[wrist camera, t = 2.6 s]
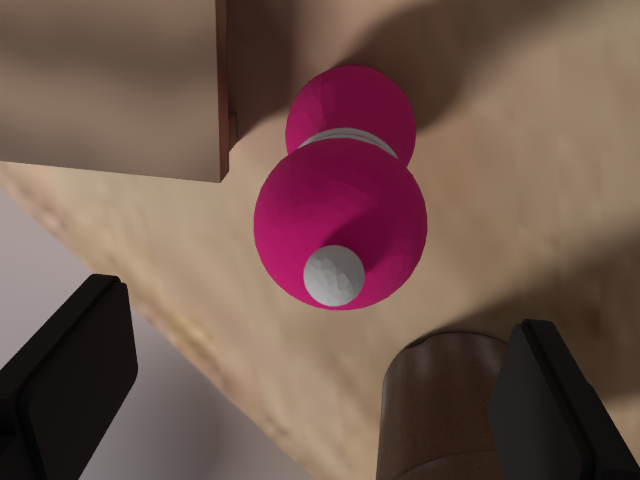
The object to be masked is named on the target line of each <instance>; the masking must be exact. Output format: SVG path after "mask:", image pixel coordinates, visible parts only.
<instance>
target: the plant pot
mask: <svg viewBox="0 0 640 480" xmlns="http://www.w3.org/2000/svg"><path fill="white" fill-rule="evenodd" d="M507 346H508V345H507V344H505V343H503V342H501V341H499V340H497V339H494V338H491V337H488V336H484V335H480V334H473V333H446V334H439V335H434V336H431V337H428V338H427V339H426V340H425V341H424V342H423V343H421V344H419V345H417V346H415V347H411V348H406V349H405V350H403V351H402V352H401V353H400V354H399V355H398V356H397V357H396V358H395V359H394V360H393V362H392V363H391V364H390V366H389V368H388V370H387V372H386V374H385V378H384V381H383V390H382V407H381V421H380V435H379V448H378V460H377V472H376V480H505V477H504V473H503V470H502V466H501V463H500V460H499V456H498V453H497V449H496V446H495V443H494V439H493V436H492V432H491V429H490V426H489V422H488V405H489V402H490V399H491V396H492V392H493V389H494V386H495V383H496V380H497V377H498V374H499V371H500V368H501V365H502V362H503V359H504V356H505V352H506V349H507Z"/></svg>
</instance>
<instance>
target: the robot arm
mask: <svg viewBox="0 0 640 480" xmlns="http://www.w3.org/2000/svg"><path fill="white" fill-rule="evenodd" d="M137 373H138V363H137V356H136V348H135V341H134V334H133V326H132V319H131V311H130V304H129V296H128V289H127V285H126V284H125V283H122V282H121V281H120V279H119V277H117V276H112V275H102V274H92V275H90V276H89V277H88V278H87V279H86V280H85V282H84V283H83V284H82V285H81V286H80V287H79V288H78V289H77V290H76V291H75V292H74V293H73V294H72V295H71V296H70V297H69V298H68V299H67V301H66V302H65V303H64V304H63V305H62V306H61V307H60V308H59V309H58V310H57V311H56V312H55V313H54V314H53V315H52V316H51V317H50V318H49V319H48V320H47V322H46V323H45V324H44V325H43V326H42V327H41V328H40V329H39V330H38V331H37V332H36V333H35V334H34V335H33V336H32V337H31V338H30V339H29V341H28V342H27V343H26V344H25V345H24V346H23V347H22V348H21V349H20V350H19V351H18V352H17V353H16V354H15V355H14V356H13V357H12V359H10V361H9V362H8V363H7V364H6V365H5V366H4V367H3V368H2V369H1V370H0V480H78V479H79V477H80V476H81V474H82V472H83V471H84V469H85V467H86V465H87V464H88V462H89V460H90V459H91V457H92V455H93V453H94V452H95V450H96V448H97V446H98V445H99V443H100V441H101V439H102V438H103V436H104V434H105V433H106V431H107V429H108V427H109V426H110V424H111V422H112V420H113V419H114V417H115V415H116V414H117V412H118V410H119V408H120V407H121V405H122V403H123V401H124V399H125V398H126V396H127V395H128V393H129V391H130V389H131V388H132V386H133V384H134V382H135V380H136V377H137ZM488 422H489V426H490V429H491V432H492V436H493V439H494V443H495V446H496V449H497V453H498V456H499V460H500V463H501V466H502V470H503V473H504V477H505V480H640V467H639V466H638V464H637V462H636V461H635V459H634V457H633V455H632V454H631V452H630V450H629V448H628V447H627V445H626V443H625V442H624V440H623V438H622V436H621V435H620V433H619V431H618V430H617V428H616V426H615V424H614V423H613V421H612V419H611V418H610V416H609V414H608V412H607V411H606V409H605V407H604V406H603V404H602V402H601V400H600V399H599V397H598V395H597V393H596V392H595V390H594V389H593V387H592V386H591V385H590V384H589V383H587V381H586V379H585V378H584V376H583V374H582V372H581V371H580V369H579V367H578V365H577V364H576V362H575V360H574V358H573V357H572V355H571V353H570V351H569V350H568V348H567V346H566V345H565V343H564V341H563V339H562V338H561V336H560V334H559V332H558V331H557V329H556V327H555V325H554V324H553V323H552V322H550V321H544V320H534V319H525V320H524V321H523V322H522V324H516V325H515V326H514V328H513V331H512V334H511V337H510V340H509V343H508V346H507V349H506V352H505V356H504V359H503V362H502V365H501V368H500V371H499V374H498V377H497V380H496V383H495V386H494V389H493V392H492V396H491V399H490V402H489V405H488Z"/></svg>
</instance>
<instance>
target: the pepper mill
mask: <svg viewBox="0 0 640 480" xmlns="http://www.w3.org/2000/svg"><path fill="white" fill-rule="evenodd" d="M285 138H286V147H287V152H288V156H286V157H285V158H284V159H282V160H281V161H280V162H279V163H278V164H277V166H276V167H275V168H274V169H273V170H272V171H271V173H270V174H269V176H268V178H267V179H266V181H265V183H264V184H263V186H262V187H261V190H260V193H259V196H258V199H257V202H256V207H255V212H254V237H255V245H256V248H257V250H258V253H259V256H260V259H261V261H262V263H263V265H264V267H265V269H266V270H267V272H268V274H269V275H270V276H271V277H272V279H273V280H274V281H275V282H276V283H277V284H278V285H279V286H280V287H281V288H282V289H283V290H285V291H286V292H287V293H288V294H290V295H291V296H293V297H295V298H296V299H298V300H300V301H302V302H304V303H306V304H309V305H312V306H314V307H318V308H323V309H328V310H353V309H359V308H364V307H367V306H370V305H373V304H375V303H377V302H379V301H381V300H383V299H385V298H387V297H389V296H390V295H391V294H392V293H394V292H395V291H396V290H397V289H398V288H400V287H401V286H402V285H403V284H404V283H405V282H406V280H407V279H408V278H409V277H410V276H411V274H412V272H413V271H414V269H415V267H416V266H417V264H418V262H419V261H420V258H421V255H422V252H423V249H424V246H425V242H426V236H427V213H426V207H425V201H424V198H423V196H422V193H421V191H420V188H419V186H418V184H417V182H416V181H415V179H414V177H413V175H412V174H411V173H410V171H409V170H408V169H407V168H406V167H407V166H408V164H409V161H410V159H411V157H412V154H413V151H414V147H415V139H416V127H415V118H414V114H413V110H412V107H411V105H410V103H409V101H408V98H407V97H406V95H405V94H404V93H403V91H402V90H401V88H400V87H399V86H398V85H397V84H396V83H395V82H393V81H392V80H391V79H390V78H388V77H387V76H385V75H384V74H382V73H380V72H378V71H376V70H374V69H372V68H369V67H367V66H362V65H344V66H340V67H337V68H334V69H331V70H328V71H325V72H323V73H322V74H320V75H318V76H316V77H315V78H313V79H312V80H311V81H309V82H308V83H307V84H306V85H305V86H304V87H303V88H302V89H301V91H300V92H299V93H298V95H297V96H296V98H295V100H294V102H293V104H292V106H291V108H290V112H289V115H288V119H287V124H286V131H285Z"/></svg>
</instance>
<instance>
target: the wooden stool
mask: <svg viewBox="0 0 640 480" xmlns="http://www.w3.org/2000/svg"><path fill="white" fill-rule="evenodd" d="M236 143H237V114H236V113H235V112H228V79H227V25H226V0H0V161H7V162H16V163H26V164H36V165H46V166H56V167H66V168H76V169H86V170H96V171H106V172H116V173H125V174H135V175H145V176H155V177H165V178H175V179H185V180H195V181H205V182H215V183H221V181H222V180H223V179H224V177H225V176H226V175H227V173H228V172H229V152H230V150H231V149H232V148H233V147H234V145H235V144H236Z"/></svg>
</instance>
